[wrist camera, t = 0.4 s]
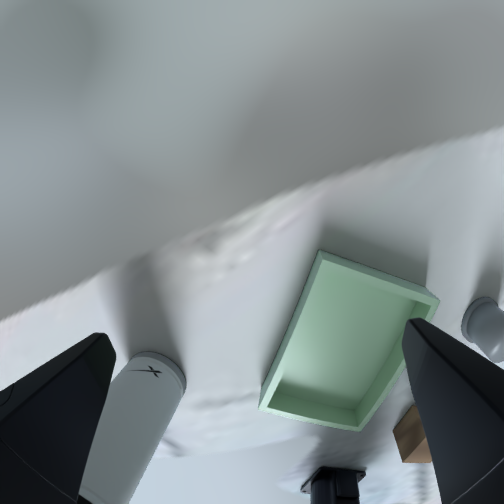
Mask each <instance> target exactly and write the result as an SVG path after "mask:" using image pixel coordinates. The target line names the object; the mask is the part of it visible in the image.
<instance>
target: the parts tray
mask: <svg viewBox="0 0 504 504" xmlns="http://www.w3.org/2000/svg"><path fill="white" fill-rule="evenodd" d="M439 303H440V300H439V299H438V298H437V297H436V296H435V295H433V294H432V293H431V292H430V291H429V290H428V289H427V288H425V287H422V286H420V285H417V284H414V283H412V282H409V281H406V280H403V279H401V278H398V277H395V276H393V275H390V274H387V273H384V272H382V271H379V270H376V269H373V268H370V267H368V266H365V265H362V264H359V263H356V262H353V261H351V260H348V259H345V258H342V257H339V256H336V255H334V254H331V253H328V252H325V251H322V250H318V252H317V255H316V258H315V260H314V263H313V266H312V268H311V271H310V274H309V276H308V279H307V281H306V284H305V286H304V289H303V292H302V294H301V297H300V299H299V302H298V304H297V307H296V309H295V312H294V314H293V316H292V319H291V321H290V324H289V326H288V329H287V331H286V333H285V336H284V338H283V340H282V343H281V345H280V347H279V350H278V352H277V354H276V357H275V359H274V361H273V364H272V366H271V368H270V370H269V373H268V375H267V377H266V379H265V382H264V384H263V386H262V388H261V393H260V399H259V405H258V410H260V411H264V412H267V413H271V414H275V415H279V416H283V417H287V418H291V419H295V420H299V421H304V422H308V423H313V424H317V425H322V426H327V427H333V428H338V429H344V430H350V431H356V432H361V431H362V429H363V428H364V427H365V425H366V424H367V423H368V421H369V420H370V419H371V417H372V416H373V415H374V413H375V412H376V410H377V409H378V408H379V406H380V405H381V403H382V402H383V401H384V399H385V398H386V396H387V395H388V393H389V392H390V390H391V389H392V387H393V386H394V384H395V382H396V381H397V379H398V378H399V376H400V375H401V373H402V371H403V370H404V368H405V366H406V363H405V359H404V355H403V351H402V338H403V333H404V329H405V325H406V322H407V320H408V319H411V318H417V317H420V318H423V319H424V320H426V321H428V322H429V323H430V321H431V319H432V317H433V315H434V313H435V311H436V309H437V307H438V305H439Z"/></svg>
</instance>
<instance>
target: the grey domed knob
mask: <svg viewBox="0 0 504 504" xmlns="http://www.w3.org/2000/svg"><path fill="white" fill-rule="evenodd" d="M461 331H462V334H463V336H464V337H465V338H466V339H467V340H468V341H469V342H471V343H475V344H476V345H477V346H478V347H479V348H480V349H481V350H482V351H483V352H484V354H485V355H486V356H487V357H488V358H489V359H490V360H491V361H492V362H494V363H499V362H502V361H504V311H503V310H501V309H500V308H498V305H497V303H496V302H495V301H494V300H493V299H491V298H489V297H481V298H479V299H477V300H476V301H474V302H473V303H472V304H471V305H470V306H469V308H468V309H467V311H466V312H465V314H464V317H463V319H462V324H461Z"/></svg>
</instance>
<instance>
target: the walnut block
mask: <svg viewBox="0 0 504 504" xmlns="http://www.w3.org/2000/svg"><path fill="white" fill-rule="evenodd" d="M393 434H394V437H395V440H396V443H397V446H398V449H399V453H400V456H401V459H402V463H431V462H432V458H431V454H430V450H429V446H428V443H427V439H426V436H425V432H424V429H423V425H422V422H421V419H420V416H419V412H418V409H417V406H411V408H410V409H409V410H408V412H407V413H406V414H405V416H404V417H403V418H402V420H401V421H400V422H399V423H398V425H397V426H396V427H395V429H394V430H393Z"/></svg>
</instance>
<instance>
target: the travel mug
mask: <svg viewBox="0 0 504 504" xmlns="http://www.w3.org/2000/svg"><path fill="white" fill-rule="evenodd" d="M185 390H186V381H185V378H184V375H183V373H182V372H181V370H180V369H179V367H178V366H177V365H176V364H175V363H174V362H172V361H171V360H170V359H168V358H167V357H165V356H163V355H160V354H158V353H154V352H141V353H138V354H136V355H135V356H133V358H132V359H131V360H130V361H129V362H128V364H127V365H126V366H125V367H124V368H123V369H122V370H121V372H120V373H119V374H118V375H117V376H116V377H115V379H114V380H113V381H112V382H111V383H110V386H109V391H108V395H107V398H106V402H105V405H104V408H103V411H102V414H101V417H100V420H99V423H98V426H97V429H96V433H95V436H94V439H93V443H92V446H91V449H90V453H89V456H88V460H87V463H86V467H85V471H84V475H83V478H82V482H81V486H80V490H79V494H78V499H77V504H129V501H130V500H131V498H132V496H133V494H134V492H135V490H136V488H137V486H138V484H139V482H140V480H141V478H142V476H143V474H144V472H145V470H146V468H147V466H148V464H149V462H150V460H151V458H152V456H153V454H154V452H155V450H156V448H157V446H158V444H159V442H160V440H161V438H162V436H163V434H164V432H165V431H166V429H167V427H168V425H169V423H170V421H171V419H172V417H173V415H174V413H175V411H176V409H177V407H178V405H179V403H180V400H181V399H182V397H183V395H184V393H185Z"/></svg>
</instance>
